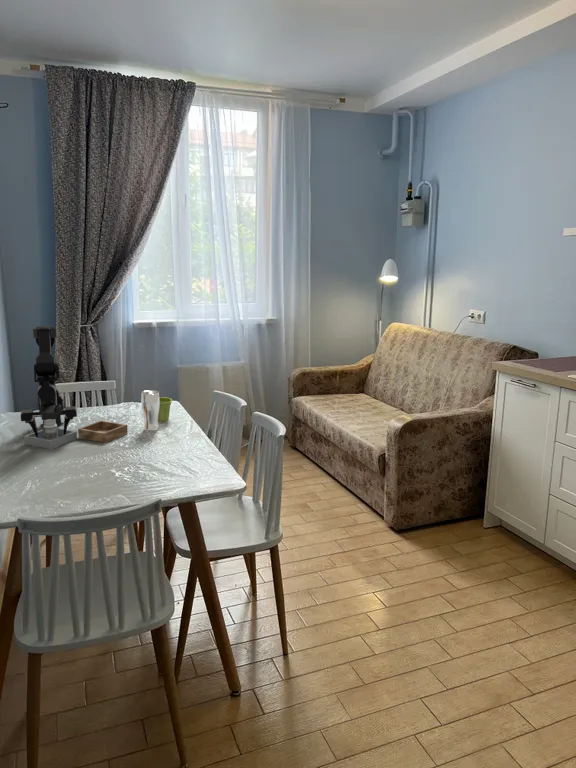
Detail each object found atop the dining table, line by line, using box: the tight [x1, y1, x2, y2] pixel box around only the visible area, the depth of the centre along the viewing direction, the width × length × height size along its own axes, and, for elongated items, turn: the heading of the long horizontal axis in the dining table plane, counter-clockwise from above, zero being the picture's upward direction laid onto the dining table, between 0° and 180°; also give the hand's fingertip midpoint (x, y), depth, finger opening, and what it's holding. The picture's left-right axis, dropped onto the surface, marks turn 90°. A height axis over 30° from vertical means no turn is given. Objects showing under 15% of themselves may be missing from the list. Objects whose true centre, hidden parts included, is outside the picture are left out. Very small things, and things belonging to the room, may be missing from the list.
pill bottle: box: [42, 419, 58, 440], centre depth 212 cm, size 5×5×8 cm
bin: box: [23, 427, 78, 450], centre depth 213 cm, size 13×13×3 cm
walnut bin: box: [77, 419, 128, 444], centre depth 221 cm, size 13×13×4 cm
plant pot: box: [158, 396, 173, 423], centre depth 241 cm, size 9×9×9 cm
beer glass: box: [140, 390, 160, 432], centre depth 228 cm, size 7×7×15 cm
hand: (51, 436), depth 213 cm, fingers open, 9 cm apart
